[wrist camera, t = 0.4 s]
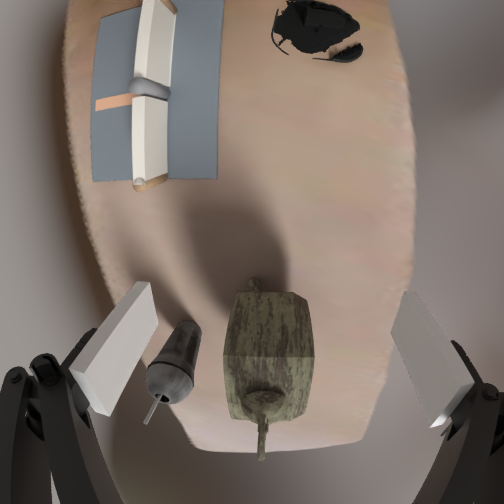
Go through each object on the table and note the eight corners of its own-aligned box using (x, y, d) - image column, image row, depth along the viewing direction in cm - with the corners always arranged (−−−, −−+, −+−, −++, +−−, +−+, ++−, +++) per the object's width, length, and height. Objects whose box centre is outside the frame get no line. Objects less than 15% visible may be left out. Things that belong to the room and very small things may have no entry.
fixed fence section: (166, 8, 26) (141, -15, 18) (179, 6, 26) (156, -19, 18) (158, 101, 32) (127, 95, 24) (171, 100, 32) (143, 92, 24)
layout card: (101, 19, 26) (100, 18, 25) (224, -7, 25) (224, -8, 24) (94, 181, 37) (92, 182, 37) (216, 178, 36) (216, 178, 35)
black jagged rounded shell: (270, 57, 29) (270, 46, 25) (272, 0, 25) (271, -16, 21) (360, 67, 29) (371, 59, 24) (357, 10, 25) (366, -3, 20)
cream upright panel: (156, 103, 31) (131, 98, 25) (168, 101, 31) (145, 95, 25) (156, 182, 36) (133, 192, 29) (168, 182, 36) (146, 192, 29)
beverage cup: (216, 342, 47) (189, 438, 29) (181, 348, 48) (146, 436, 30) (199, 310, 44) (160, 408, 26) (162, 318, 46) (115, 406, 28)
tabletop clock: (241, 268, 41) (205, 415, 18) (303, 269, 40) (327, 419, 17) (245, 342, 46) (224, 475, 24) (297, 343, 46) (303, 478, 23)
